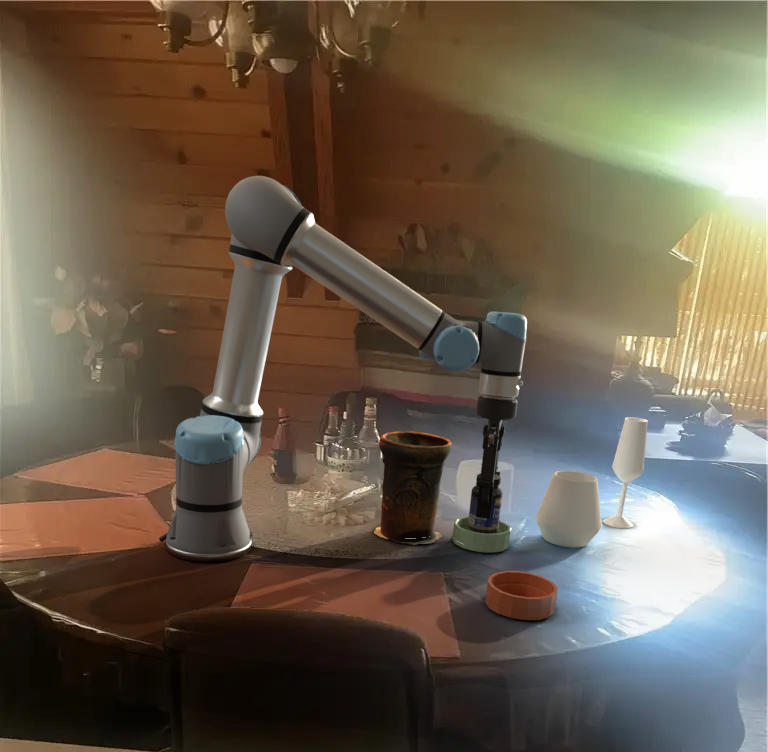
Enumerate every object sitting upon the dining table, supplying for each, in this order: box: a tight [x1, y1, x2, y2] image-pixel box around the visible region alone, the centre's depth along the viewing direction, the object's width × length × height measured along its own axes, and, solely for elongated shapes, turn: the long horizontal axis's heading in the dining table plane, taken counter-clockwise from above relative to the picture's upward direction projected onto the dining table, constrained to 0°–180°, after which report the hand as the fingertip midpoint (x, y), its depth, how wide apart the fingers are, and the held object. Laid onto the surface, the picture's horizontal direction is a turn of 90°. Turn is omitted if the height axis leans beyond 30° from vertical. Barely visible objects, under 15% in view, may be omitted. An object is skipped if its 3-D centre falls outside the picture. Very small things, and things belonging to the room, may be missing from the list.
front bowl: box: [484, 570, 558, 621], centre depth 124 cm, size 11×11×4 cm
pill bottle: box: [468, 473, 503, 534], centre depth 150 cm, size 6×6×11 cm
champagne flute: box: [602, 416, 649, 529], centre depth 169 cm, size 7×7×24 cm
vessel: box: [373, 431, 453, 546], centre depth 152 cm, size 14×14×20 cm
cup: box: [535, 469, 603, 548], centre depth 156 cm, size 13×13×14 cm
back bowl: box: [452, 515, 512, 553], centre depth 152 cm, size 11×11×4 cm
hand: (484, 512), depth 150 cm, fingers closed on pill bottle, 6 cm apart
